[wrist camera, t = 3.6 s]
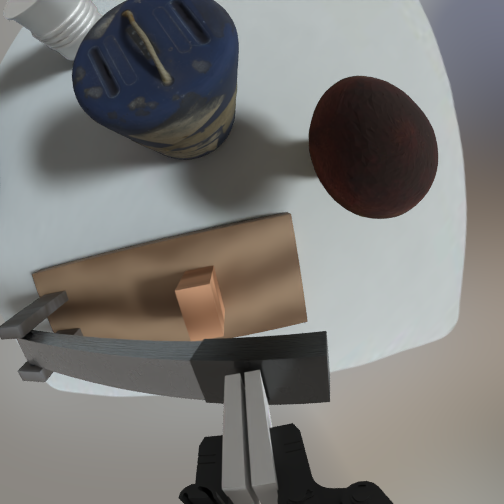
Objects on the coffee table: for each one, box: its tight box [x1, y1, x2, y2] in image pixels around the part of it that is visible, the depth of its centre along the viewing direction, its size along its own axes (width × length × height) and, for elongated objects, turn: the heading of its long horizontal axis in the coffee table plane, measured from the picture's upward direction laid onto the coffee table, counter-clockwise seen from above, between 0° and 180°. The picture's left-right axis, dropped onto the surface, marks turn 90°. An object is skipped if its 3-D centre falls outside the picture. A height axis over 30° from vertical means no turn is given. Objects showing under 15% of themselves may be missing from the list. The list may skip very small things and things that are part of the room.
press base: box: [0, 212, 307, 382], centre depth 25 cm, size 12×32×12 cm, turn 101°
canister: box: [72, 0, 239, 160], centre depth 18 cm, size 10×10×18 cm
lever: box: [17, 330, 330, 405], centre depth 17 cm, size 4×29×2 cm, turn 101°
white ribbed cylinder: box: [3, 0, 102, 60], centre depth 15 cm, size 7×7×15 cm
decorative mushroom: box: [309, 76, 438, 219], centre depth 21 cm, size 11×11×15 cm
